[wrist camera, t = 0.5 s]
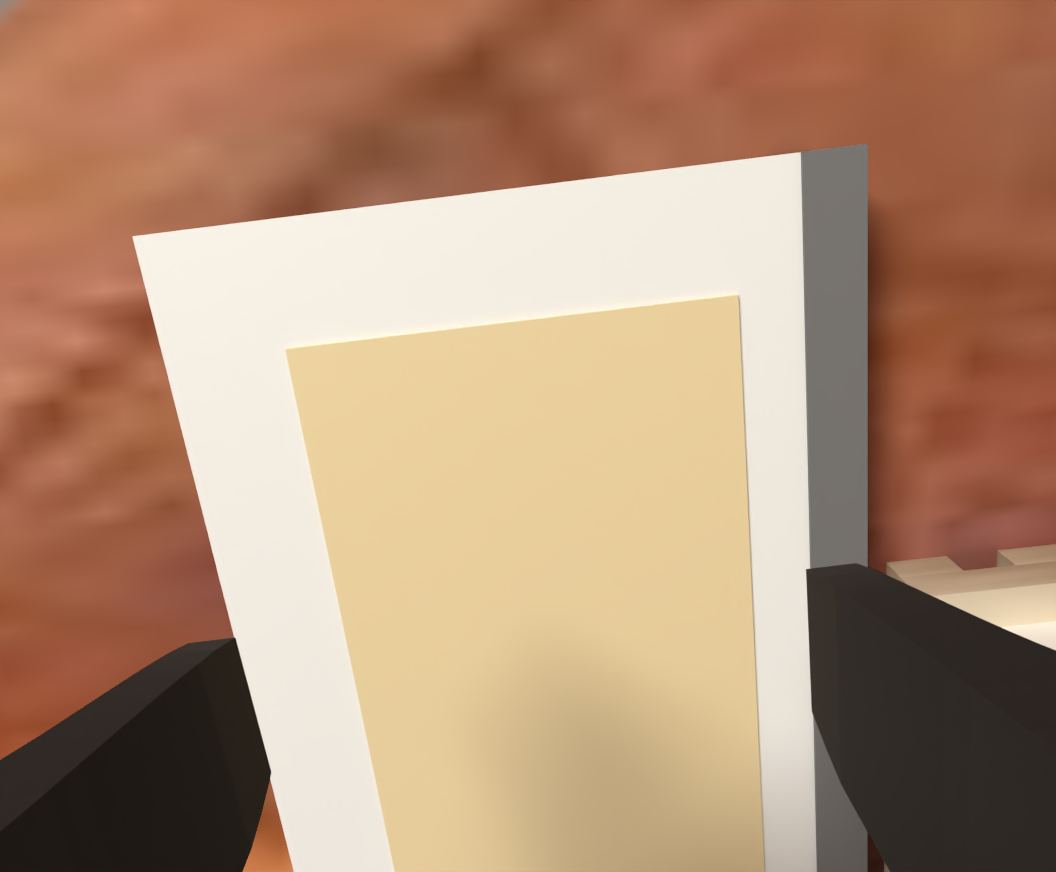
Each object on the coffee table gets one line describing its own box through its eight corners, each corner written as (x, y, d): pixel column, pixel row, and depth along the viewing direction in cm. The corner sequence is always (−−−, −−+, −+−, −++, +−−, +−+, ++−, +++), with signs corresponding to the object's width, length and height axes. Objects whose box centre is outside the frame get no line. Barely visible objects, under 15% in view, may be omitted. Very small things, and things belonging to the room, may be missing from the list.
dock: (831, 884, 23) (867, 967, 21) (349, 929, 24) (328, 1015, 21) (820, 149, 18) (867, 144, 15) (184, 229, 18) (130, 236, 16)
